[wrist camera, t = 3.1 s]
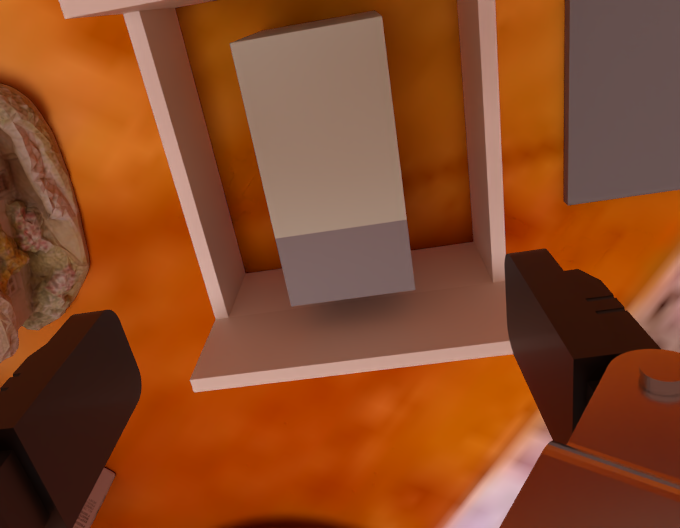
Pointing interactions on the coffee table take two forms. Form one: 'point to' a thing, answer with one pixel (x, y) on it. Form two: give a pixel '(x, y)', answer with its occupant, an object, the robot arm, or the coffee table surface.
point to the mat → (621, 99)
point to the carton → (269, 286)
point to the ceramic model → (35, 224)
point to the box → (328, 156)
